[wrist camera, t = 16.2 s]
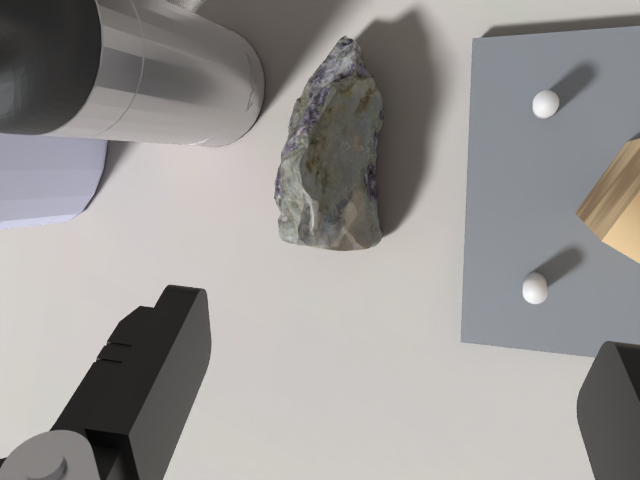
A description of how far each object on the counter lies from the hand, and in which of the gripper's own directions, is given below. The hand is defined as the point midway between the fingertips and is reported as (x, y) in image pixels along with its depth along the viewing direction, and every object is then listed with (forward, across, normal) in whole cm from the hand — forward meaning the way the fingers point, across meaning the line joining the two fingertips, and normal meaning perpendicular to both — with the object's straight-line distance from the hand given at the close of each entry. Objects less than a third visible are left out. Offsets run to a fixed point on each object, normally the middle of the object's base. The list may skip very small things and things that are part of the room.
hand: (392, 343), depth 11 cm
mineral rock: (+29, +2, +10) cm, 30 cm away
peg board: (+24, -15, +8) cm, 29 cm away
